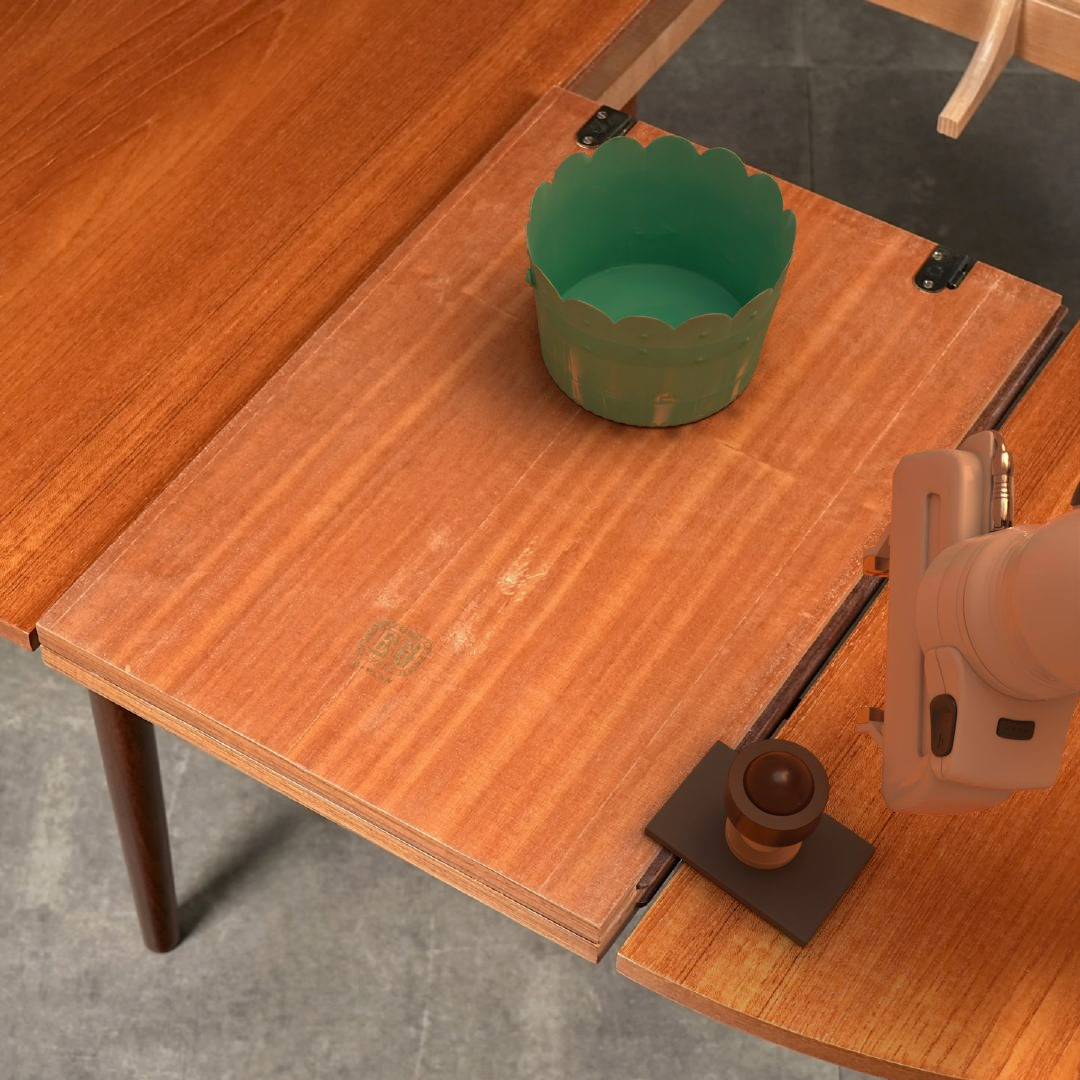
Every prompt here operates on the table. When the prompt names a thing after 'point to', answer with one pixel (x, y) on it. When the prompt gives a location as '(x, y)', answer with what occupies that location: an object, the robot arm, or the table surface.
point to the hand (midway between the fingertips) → (869, 642)
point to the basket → (656, 277)
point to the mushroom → (773, 801)
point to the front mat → (774, 894)
